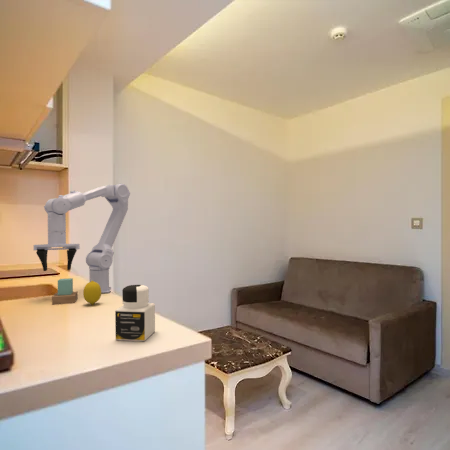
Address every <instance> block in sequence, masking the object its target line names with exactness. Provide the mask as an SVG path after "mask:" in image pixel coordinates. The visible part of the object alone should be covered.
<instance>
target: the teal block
mask: <svg viewBox="0 0 450 450" xmlns="http://www.w3.org/2000/svg"><path fill="white" fill-rule="evenodd" d="M73 292H74V278H60V279H58V280H57V293H58V295H71V294H72V293H73Z"/></svg>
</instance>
